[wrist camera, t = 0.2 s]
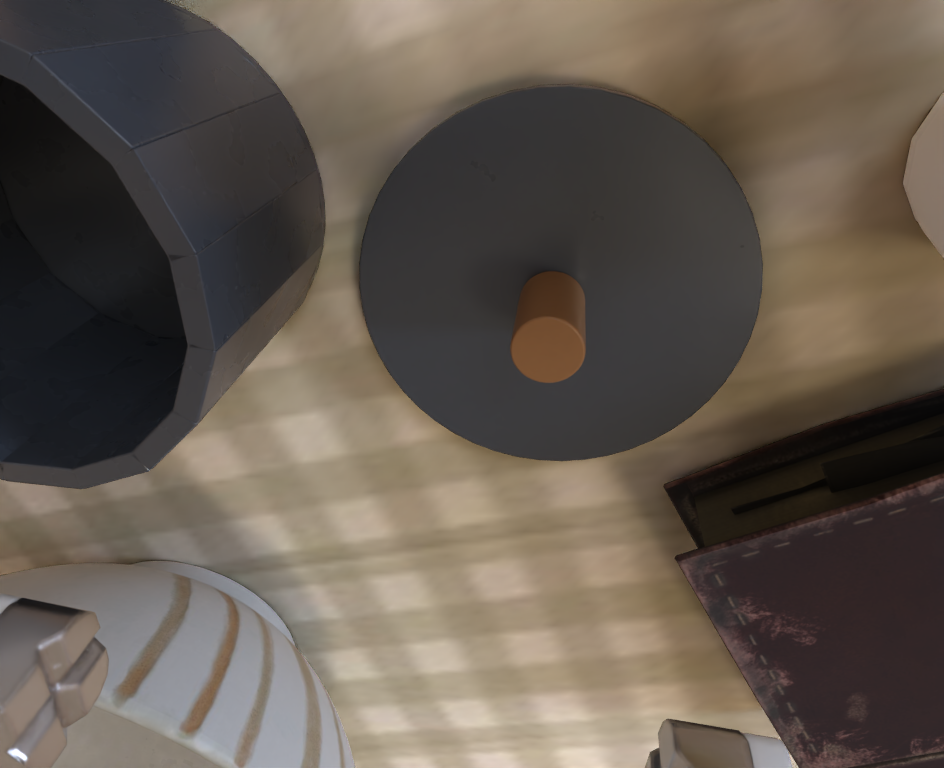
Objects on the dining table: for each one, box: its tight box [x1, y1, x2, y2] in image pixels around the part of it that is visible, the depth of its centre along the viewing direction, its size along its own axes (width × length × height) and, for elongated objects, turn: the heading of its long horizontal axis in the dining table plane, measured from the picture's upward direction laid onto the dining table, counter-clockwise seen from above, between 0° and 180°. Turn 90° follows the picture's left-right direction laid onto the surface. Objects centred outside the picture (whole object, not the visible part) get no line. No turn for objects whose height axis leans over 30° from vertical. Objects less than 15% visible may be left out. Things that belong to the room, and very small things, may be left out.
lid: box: [359, 84, 763, 461], centre depth 24 cm, size 15×15×5 cm
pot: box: [0, 0, 325, 489], centre depth 22 cm, size 14×14×10 cm
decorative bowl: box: [0, 561, 355, 768], centre depth 35 cm, size 27×27×12 cm
